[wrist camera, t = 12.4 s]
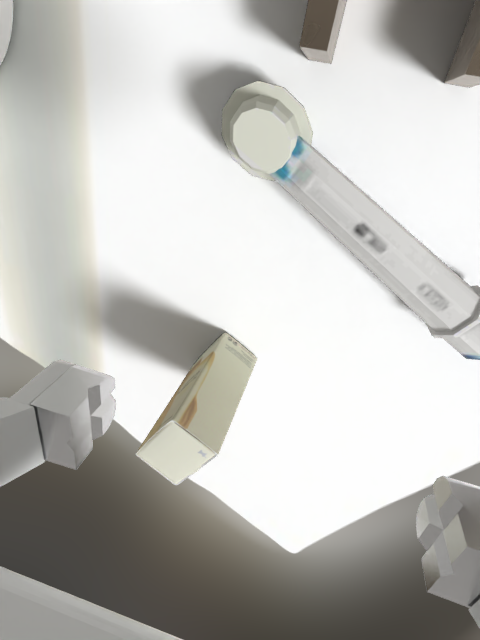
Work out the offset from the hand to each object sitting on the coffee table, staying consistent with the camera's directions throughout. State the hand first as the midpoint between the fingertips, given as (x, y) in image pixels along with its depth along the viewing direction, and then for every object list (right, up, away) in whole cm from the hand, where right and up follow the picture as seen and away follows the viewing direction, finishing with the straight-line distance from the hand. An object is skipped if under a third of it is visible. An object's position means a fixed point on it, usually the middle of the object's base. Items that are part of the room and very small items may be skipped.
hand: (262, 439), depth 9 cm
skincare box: (-2, -1, +28) cm, 28 cm away
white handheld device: (+9, +10, +19) cm, 23 cm away
